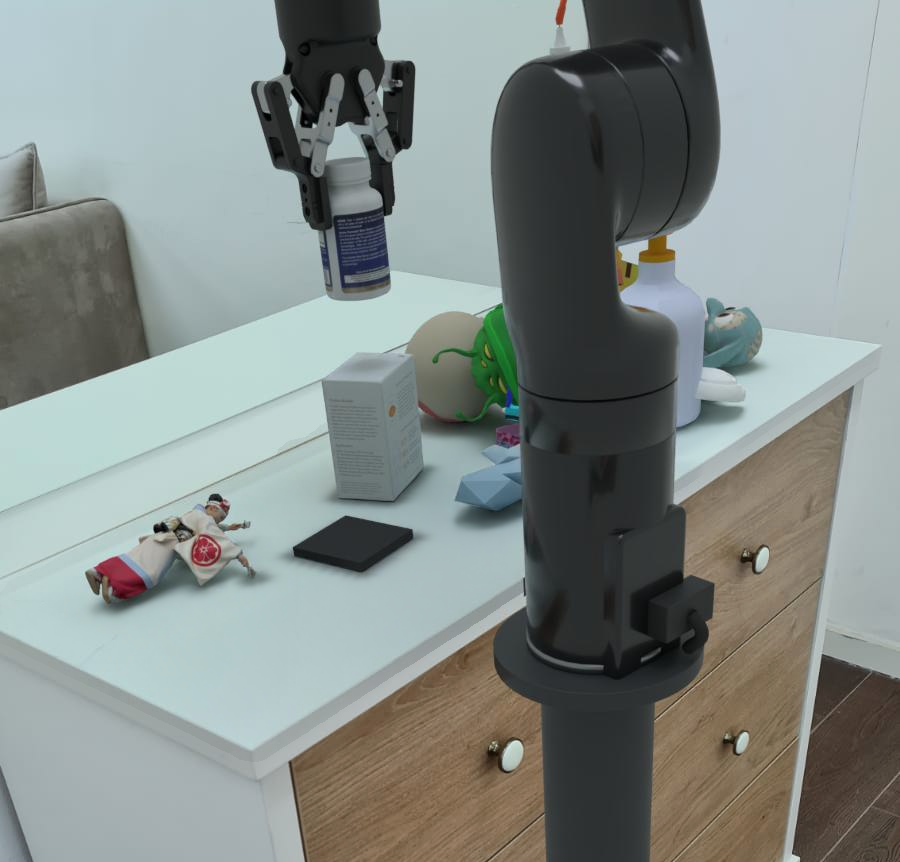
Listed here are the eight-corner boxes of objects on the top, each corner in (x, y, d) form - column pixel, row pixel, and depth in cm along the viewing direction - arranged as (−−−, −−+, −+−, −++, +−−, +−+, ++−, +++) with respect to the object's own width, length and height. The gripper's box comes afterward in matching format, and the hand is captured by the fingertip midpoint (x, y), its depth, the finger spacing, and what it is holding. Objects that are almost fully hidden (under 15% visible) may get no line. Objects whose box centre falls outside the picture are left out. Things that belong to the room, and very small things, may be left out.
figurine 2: (413, 325, 107) (478, 264, 99) (526, 303, 116) (594, 245, 107) (470, 454, 108) (538, 404, 100) (577, 423, 117) (648, 374, 108)
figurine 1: (152, 639, 86) (299, 545, 94) (79, 554, 86) (232, 467, 94) (140, 673, 92) (280, 581, 99) (72, 593, 92) (216, 507, 99)
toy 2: (468, 258, 112) (423, 312, 121) (413, 343, 108) (370, 392, 117) (547, 329, 115) (497, 375, 124) (496, 414, 111) (448, 456, 120)
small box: (370, 466, 110) (356, 350, 104) (425, 469, 108) (415, 351, 102) (335, 499, 104) (318, 378, 98) (394, 502, 102) (380, 380, 96)
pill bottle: (404, 288, 97) (392, 155, 91) (366, 304, 93) (350, 167, 87) (353, 284, 99) (337, 154, 94) (313, 300, 96) (295, 166, 90)
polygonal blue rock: (533, 497, 107) (533, 436, 105) (595, 503, 102) (597, 439, 100) (431, 513, 98) (429, 447, 96) (494, 520, 93) (494, 451, 91)
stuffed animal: (659, 296, 130) (768, 276, 124) (669, 361, 133) (776, 346, 127) (630, 322, 122) (744, 303, 116) (641, 391, 126) (753, 376, 120)
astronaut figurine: (701, 391, 122) (707, 360, 121) (759, 405, 112) (766, 371, 110) (625, 384, 120) (629, 353, 118) (677, 398, 109) (682, 363, 108)
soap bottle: (587, 422, 114) (585, 136, 100) (643, 396, 119) (649, 120, 105) (662, 439, 109) (672, 140, 95) (718, 411, 114) (735, 123, 100)
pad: (413, 538, 96) (412, 528, 95) (362, 572, 91) (360, 562, 91) (346, 523, 99) (345, 514, 99) (293, 556, 95) (292, 547, 94)
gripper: (267, -33, 77) (305, 245, 87) (433, -50, 84) (450, 209, 94) (208, -28, 82) (250, 235, 92) (369, -44, 89) (392, 202, 99)
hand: (351, 221), depth 93 cm, fingers closed on pill bottle, 5 cm apart
